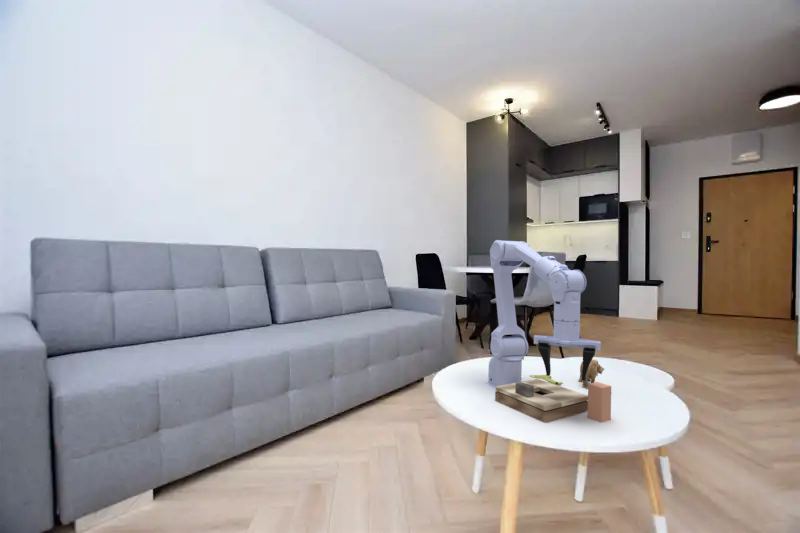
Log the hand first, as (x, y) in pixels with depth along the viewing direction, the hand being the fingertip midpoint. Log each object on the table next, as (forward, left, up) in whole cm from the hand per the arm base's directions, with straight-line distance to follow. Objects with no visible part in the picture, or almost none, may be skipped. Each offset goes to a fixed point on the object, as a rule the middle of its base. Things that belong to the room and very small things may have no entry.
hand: (565, 377), depth 90 cm
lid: (-8, 0, -7) cm, 10 cm away
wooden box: (-8, 0, -10) cm, 13 cm away
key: (-23, +21, -11) cm, 33 cm away
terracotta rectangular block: (+5, +6, -10) cm, 13 cm away
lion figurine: (-14, +30, -10) cm, 35 cm away
